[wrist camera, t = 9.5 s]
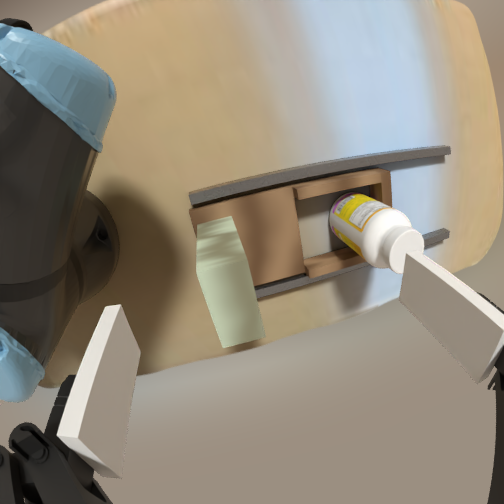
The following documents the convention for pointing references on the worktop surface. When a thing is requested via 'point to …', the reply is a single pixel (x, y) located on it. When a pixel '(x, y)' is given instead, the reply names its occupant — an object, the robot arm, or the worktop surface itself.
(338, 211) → the supplement bottle
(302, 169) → the lane rails
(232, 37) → the worktop surface
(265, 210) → the wooden holder tray
